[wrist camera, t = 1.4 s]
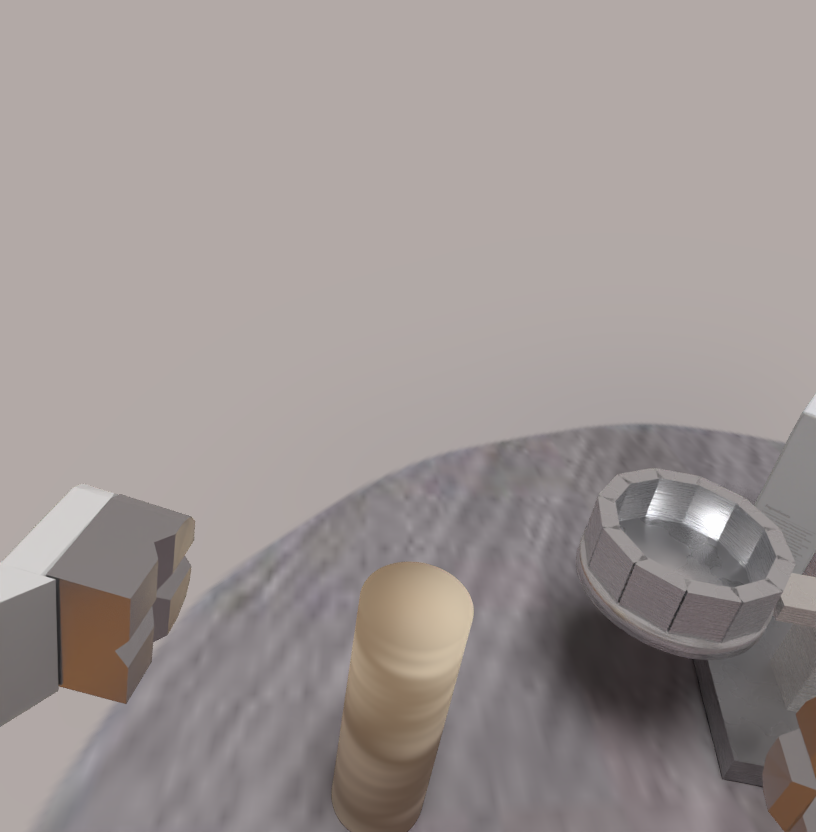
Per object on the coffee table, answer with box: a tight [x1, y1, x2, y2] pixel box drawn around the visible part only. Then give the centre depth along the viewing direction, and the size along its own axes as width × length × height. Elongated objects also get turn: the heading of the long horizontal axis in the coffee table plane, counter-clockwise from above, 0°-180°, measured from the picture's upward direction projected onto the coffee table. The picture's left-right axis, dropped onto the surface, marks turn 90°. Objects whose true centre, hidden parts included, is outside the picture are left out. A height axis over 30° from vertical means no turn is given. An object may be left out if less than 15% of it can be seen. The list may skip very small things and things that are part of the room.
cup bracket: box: [576, 468, 816, 786], centre depth 37 cm, size 18×10×10 cm, turn 82°
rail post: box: [331, 562, 474, 832], centre depth 30 cm, size 4×4×12 cm
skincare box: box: [754, 393, 816, 575], centre depth 47 cm, size 6×4×12 cm
